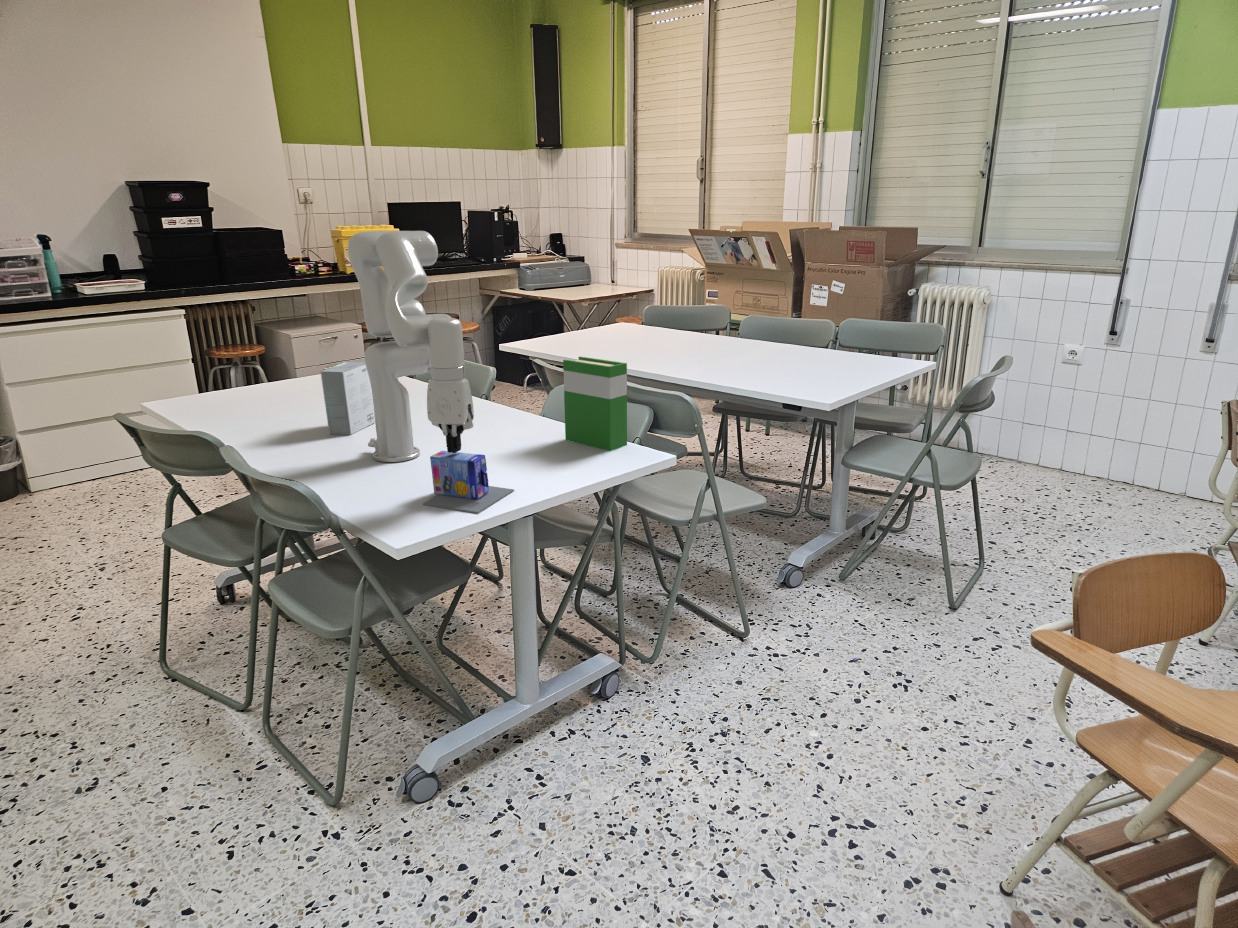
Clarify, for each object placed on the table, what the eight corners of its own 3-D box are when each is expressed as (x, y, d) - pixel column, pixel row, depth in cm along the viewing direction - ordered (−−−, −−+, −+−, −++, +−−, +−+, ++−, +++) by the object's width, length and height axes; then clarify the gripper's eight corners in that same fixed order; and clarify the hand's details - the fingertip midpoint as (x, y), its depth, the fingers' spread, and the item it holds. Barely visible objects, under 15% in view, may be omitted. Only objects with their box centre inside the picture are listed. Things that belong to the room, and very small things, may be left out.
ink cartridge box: (428, 456, 177) (483, 462, 173) (441, 449, 182) (494, 453, 177) (433, 495, 181) (487, 501, 176) (445, 487, 186) (498, 492, 181)
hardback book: (565, 440, 226) (563, 360, 219) (582, 434, 231) (580, 356, 224) (610, 450, 215) (609, 367, 208) (627, 445, 221) (626, 363, 213)
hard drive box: (354, 421, 248) (347, 361, 242) (376, 422, 247) (369, 362, 241) (327, 434, 234) (319, 370, 228) (350, 435, 232) (342, 371, 226)
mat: (422, 504, 175) (422, 503, 175) (461, 483, 189) (461, 481, 189) (478, 513, 170) (478, 512, 170) (514, 491, 184) (514, 489, 184)
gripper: (410, 374, 171) (418, 452, 177) (467, 379, 166) (472, 459, 171) (430, 368, 178) (437, 443, 183) (485, 373, 172) (490, 450, 178)
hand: (454, 451), depth 177 cm, fingers closed
